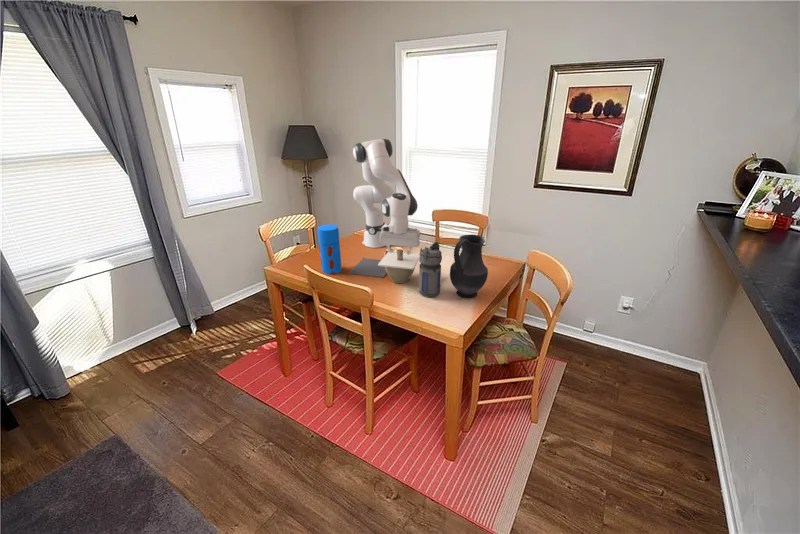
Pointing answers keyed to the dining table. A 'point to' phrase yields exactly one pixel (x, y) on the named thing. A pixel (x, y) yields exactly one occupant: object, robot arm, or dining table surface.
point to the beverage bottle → (430, 271)
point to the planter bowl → (399, 274)
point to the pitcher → (468, 266)
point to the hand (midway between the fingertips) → (399, 253)
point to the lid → (399, 260)
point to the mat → (369, 268)
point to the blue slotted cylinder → (329, 248)
